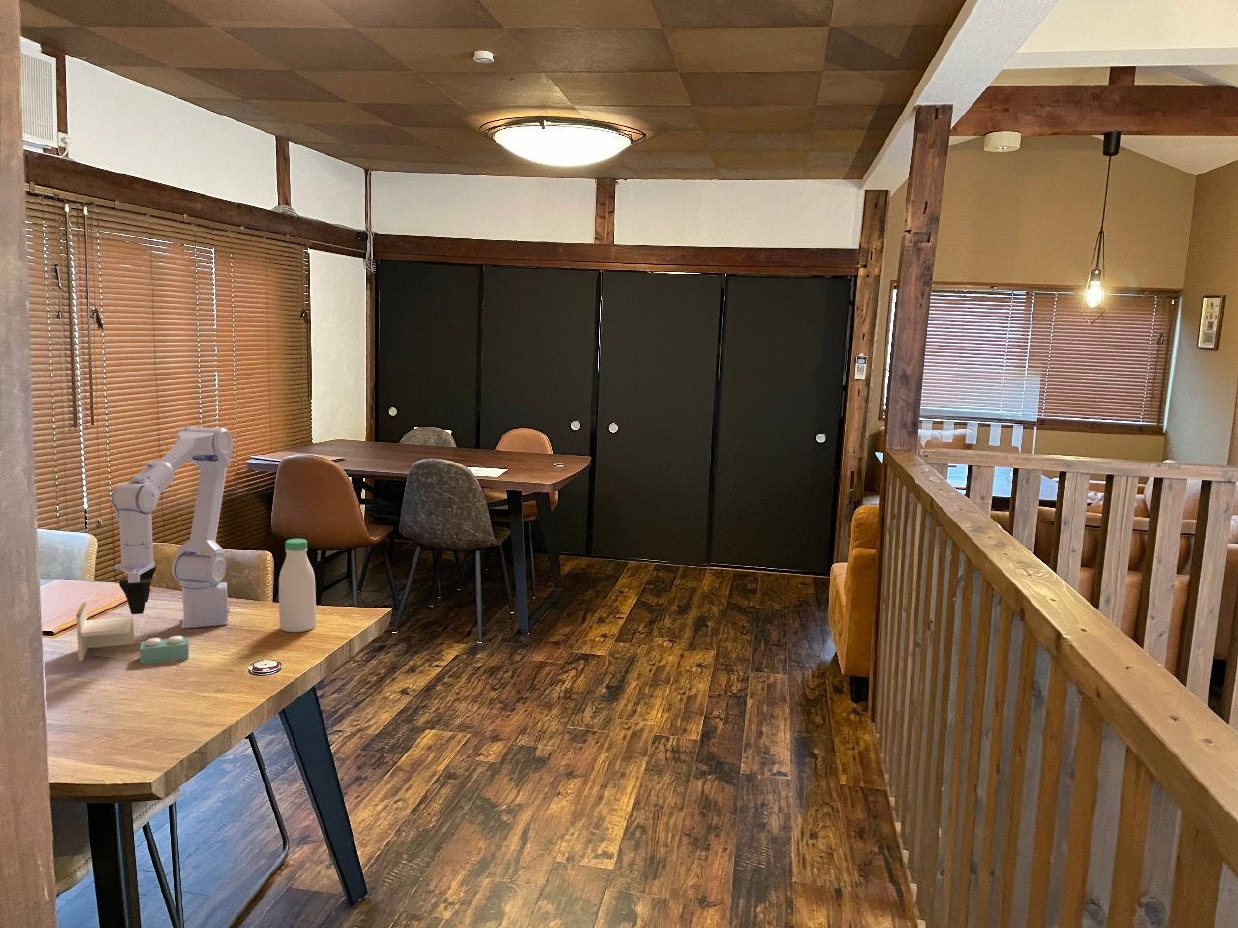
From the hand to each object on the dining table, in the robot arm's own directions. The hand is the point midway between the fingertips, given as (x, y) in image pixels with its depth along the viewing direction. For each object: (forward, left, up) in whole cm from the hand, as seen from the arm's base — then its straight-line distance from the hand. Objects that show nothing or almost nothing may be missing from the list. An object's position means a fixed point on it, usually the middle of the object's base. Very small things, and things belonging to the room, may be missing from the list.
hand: (139, 607), depth 182 cm
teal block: (-5, +4, -10) cm, 12 cm away
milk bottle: (-31, -7, -10) cm, 33 cm away
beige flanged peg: (+6, -3, -10) cm, 12 cm away
